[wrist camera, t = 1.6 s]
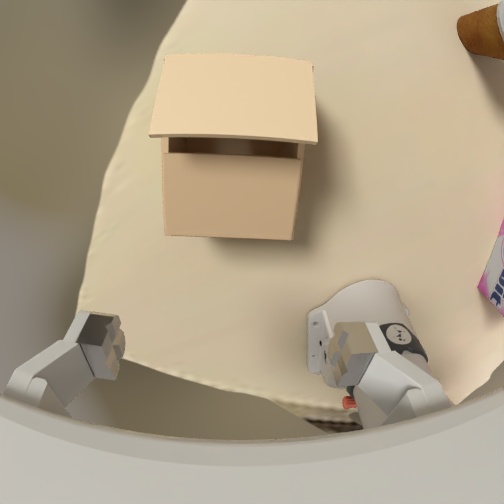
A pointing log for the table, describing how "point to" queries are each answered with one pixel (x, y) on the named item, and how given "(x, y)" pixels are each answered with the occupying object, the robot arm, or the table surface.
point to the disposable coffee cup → (484, 31)
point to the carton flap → (235, 98)
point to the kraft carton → (231, 187)
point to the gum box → (495, 274)
